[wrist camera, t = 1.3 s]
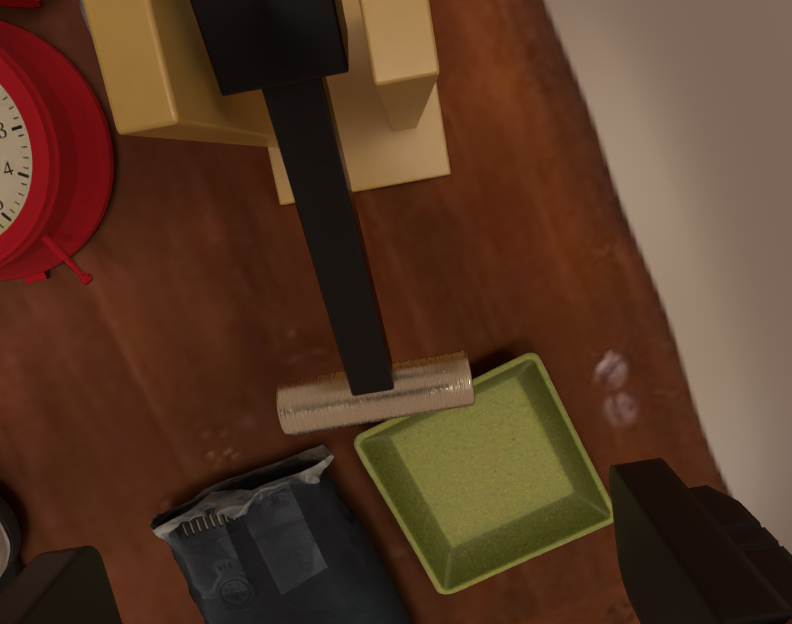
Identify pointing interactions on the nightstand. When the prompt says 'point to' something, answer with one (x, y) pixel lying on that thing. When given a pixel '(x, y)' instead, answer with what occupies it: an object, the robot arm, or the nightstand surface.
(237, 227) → the nightstand surface
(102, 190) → the alarm clock
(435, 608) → the nightstand surface
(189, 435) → the nightstand surface
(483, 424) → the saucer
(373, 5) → the bracket
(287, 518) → the electronic device
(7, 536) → the headphones
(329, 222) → the lever
